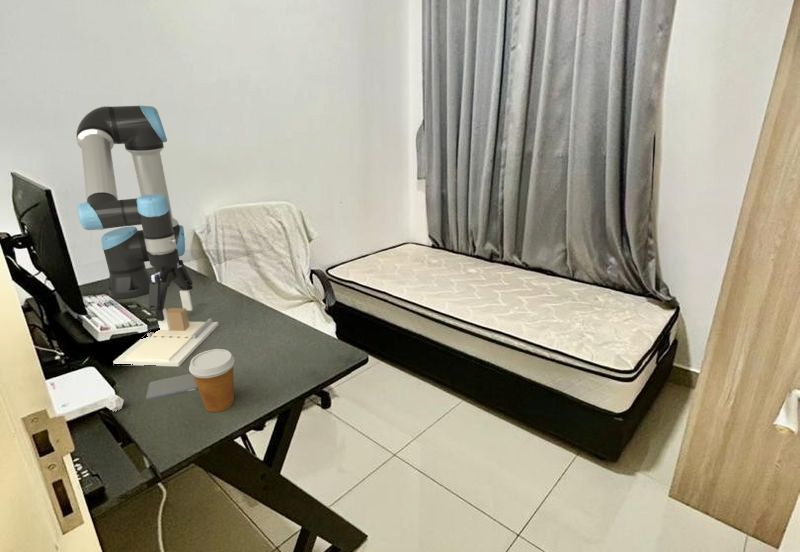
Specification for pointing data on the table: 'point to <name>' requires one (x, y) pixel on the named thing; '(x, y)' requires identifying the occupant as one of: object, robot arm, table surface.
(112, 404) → the game die
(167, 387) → the smartphone
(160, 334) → the tabbed cream panel
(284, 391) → the table surface
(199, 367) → the disposable coffee cup
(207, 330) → the ticket board
